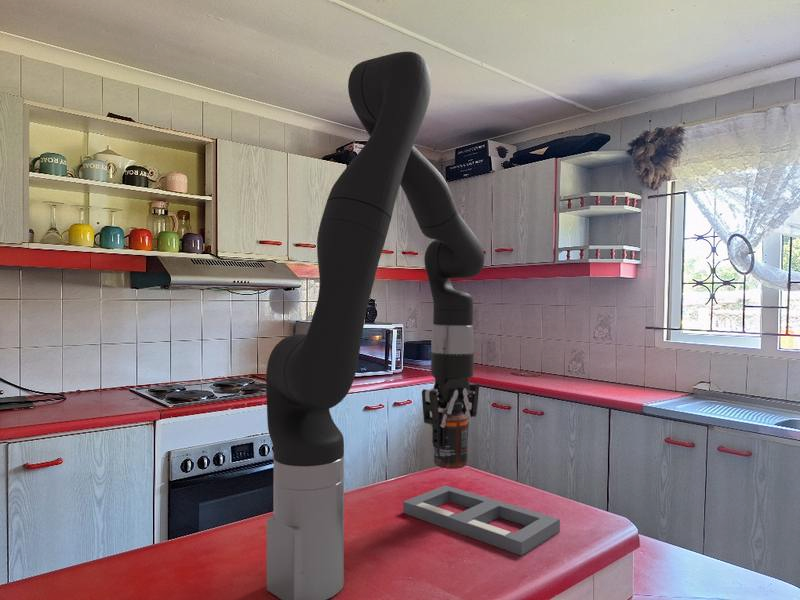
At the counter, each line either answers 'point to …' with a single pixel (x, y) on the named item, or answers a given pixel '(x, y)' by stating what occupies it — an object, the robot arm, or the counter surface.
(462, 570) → the counter surface
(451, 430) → the supplement bottle
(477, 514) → the socket panel
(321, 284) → the robot arm
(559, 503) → the counter surface
